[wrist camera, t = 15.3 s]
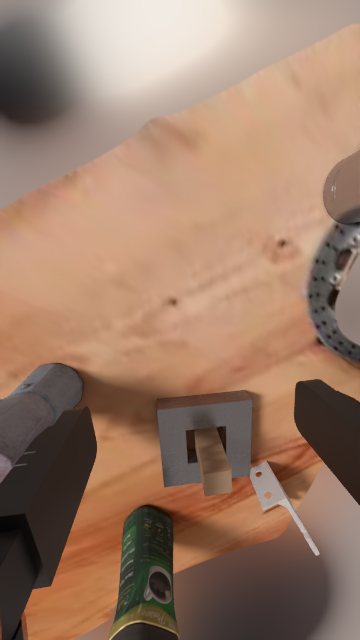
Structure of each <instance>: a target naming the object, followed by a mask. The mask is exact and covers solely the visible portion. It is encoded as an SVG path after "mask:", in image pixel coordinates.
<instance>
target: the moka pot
mask: <svg viewBox="0 0 360 640" xmlns="http://www.w3.org/2000/svg"><path fill="white" fill-rule="evenodd" d="M82 392H83V383H82V381H81V379H80V378H79V376H78V375H77V373H76V372H75V371H74V370H72V369H71V368H70V367H67V366H65V365H63V364H59V363H50V364H45V365H41V366H39V367H38V368H37V369H36V370H35V371H34V372H33V373H32V374H31V375H30V376H29V377H28V378H27V379H26V380H25V381H24V382H23V383H22V384H21V385H19V386H18V387H17V388H16V389H15V390H14V391H13V393H12V394H11V395H10V396H8V397H6V398H4V399H1V400H0V483H1V482H2V481H3V479H4V478H5V477H6V475H7V474H8V473H9V471H10V470H11V469H12V468H14V466H15V463H16V462H17V461H18V459H19V458H20V457H21V455H23V454H24V451H25V450H26V449H27V447H28V446H29V445H30V443H31V442H32V441H33V439H34V438H35V437H36V436H38V435H39V434H40V433H41V432H42V431H44V430H45V429H46V428H47V427H48V426H53V425H54V424H55V423H56V421H57V420H58V418H59V417H60V415H61V414H62V412H63V411H64V410H66V409H72V408H73V407H74V406H75V405H77V403H78V402H79V401H80V400H81V398H82Z"/></svg>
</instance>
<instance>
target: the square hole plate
mask: <svg viewBox="0 0 360 640" xmlns="http://www.w3.org/2000/svg"><path fill="white" fill-rule="evenodd" d="M157 416H158V427H159V437H160V448H161V458H162V469H163V479H164V487H170V486H177V485H185V484H192V483H200V482H202V479H201V474H200V468H199V463H198V458H197V453H196V449H191V450H187V443H186V430H194V429H203V428H212V427H220V426H222V445H223V448H224V450H225V453H226V456H227V459H228V462H229V465H230V468H231V470H232V478H237V477H245V476H250V468H251V429H252V399H251V397H250V396H249V395H248V393H247V392H246V390H243V391H233V392H223V393H214V394H204V395H194V396H185V397H175V398H165V399H157Z"/></svg>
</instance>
